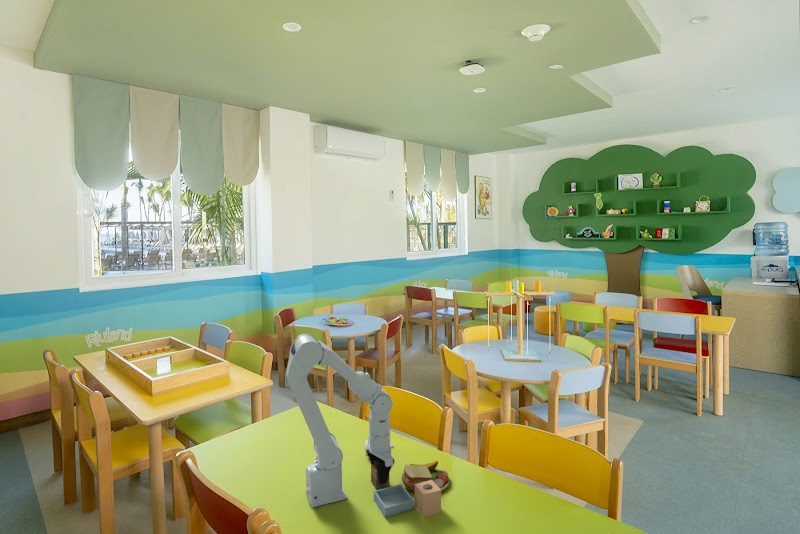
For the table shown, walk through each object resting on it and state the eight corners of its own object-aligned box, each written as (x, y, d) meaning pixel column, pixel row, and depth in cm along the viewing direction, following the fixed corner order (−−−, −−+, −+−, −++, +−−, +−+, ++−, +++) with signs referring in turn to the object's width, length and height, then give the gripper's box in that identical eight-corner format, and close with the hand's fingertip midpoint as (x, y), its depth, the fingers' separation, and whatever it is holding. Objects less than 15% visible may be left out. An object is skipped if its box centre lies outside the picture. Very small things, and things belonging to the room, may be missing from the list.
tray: (384, 517, 112) (384, 508, 112) (373, 499, 120) (373, 491, 120) (414, 509, 116) (413, 500, 115) (401, 492, 123) (401, 483, 123)
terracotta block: (423, 517, 113) (423, 494, 112) (414, 506, 117) (414, 484, 117) (441, 512, 115) (441, 489, 114) (431, 501, 119) (431, 479, 119)
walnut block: (376, 489, 125) (375, 471, 124) (371, 481, 128) (370, 464, 128) (389, 485, 126) (389, 468, 126) (384, 478, 130) (384, 461, 129)
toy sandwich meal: (453, 495, 122) (453, 478, 122) (403, 498, 121) (403, 481, 121) (445, 470, 134) (445, 455, 134) (400, 472, 133) (400, 457, 133)
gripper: (403, 440, 121) (403, 488, 122) (383, 419, 134) (383, 463, 135) (378, 445, 118) (379, 495, 119) (360, 423, 131) (361, 468, 132)
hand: (380, 478), depth 127 cm, fingers closed on walnut block, 4 cm apart
